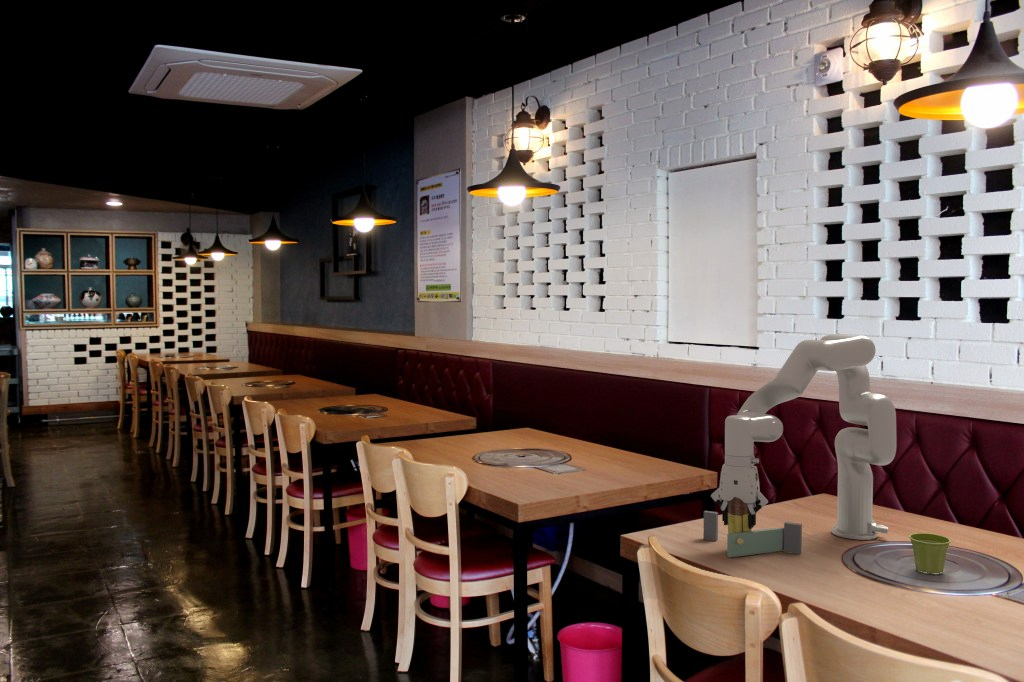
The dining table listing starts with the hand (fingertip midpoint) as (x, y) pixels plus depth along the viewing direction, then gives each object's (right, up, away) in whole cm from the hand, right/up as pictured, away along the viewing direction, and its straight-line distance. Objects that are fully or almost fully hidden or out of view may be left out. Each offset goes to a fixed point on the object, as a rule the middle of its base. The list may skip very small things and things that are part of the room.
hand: (738, 525), depth 220 cm
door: (+4, -7, -3) cm, 9 cm away
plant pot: (+44, -8, -17) cm, 47 cm away
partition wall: (+5, -7, +6) cm, 10 cm away
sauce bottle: (0, -7, +1) cm, 7 cm away
